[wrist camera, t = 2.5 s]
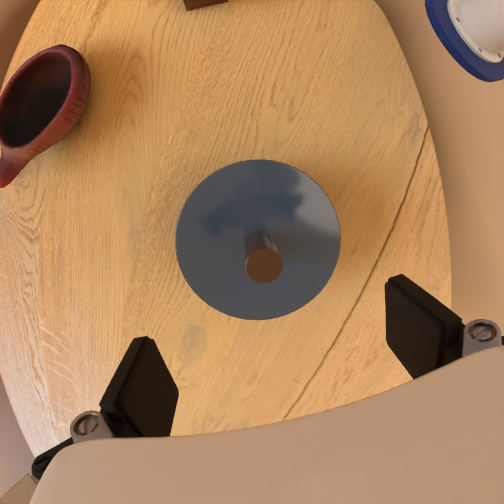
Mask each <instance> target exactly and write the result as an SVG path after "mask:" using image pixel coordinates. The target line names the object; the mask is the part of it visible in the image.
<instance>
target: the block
mask: <svg viewBox="0 0 504 504" xmlns="http://www.w3.org/2000/svg"><path fill="white" fill-rule="evenodd" d="M183 1H184V4H185V7H186V9H187V11H189V10H192V9H196V8H200V7H204V6H209V5H213V4H218V3H222V2H228V0H183Z"/></svg>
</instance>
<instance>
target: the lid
mask: <svg viewBox="0 0 504 504" xmlns="http://www.w3.org/2000/svg"><path fill="white" fill-rule="evenodd" d="M340 239H341V236H340V226H339V221H338V217H337V214H336V211H335V209H334V206H333V204H332V202H331V201H330V199H329V197H328V196H327V194H326V193H325V192H324V190H323V189H322V188H321V187H320V186H319V185H318V184H317V182H316V181H315V180H313V179H312V178H311V177H309V176H308V175H307V174H306V173H304V172H302V171H300V170H299V169H297V168H295V167H292V166H290V165H287V164H285V163H281V162H277V161H272V160H247V161H241V162H237V163H234V164H231V165H228V166H225V167H223V168H221V169H219V170H217V171H216V172H214V173H212V174H211V175H209V176H208V177H207V178H206V179H204V180H203V181H202V182H201V183H200V184H199V185H198V186H197V187H196V188H195V189H194V190H193V192H192V193H191V194H190V196H189V197H188V199H187V200H186V202H185V204H184V206H183V208H182V210H181V213H180V216H179V219H178V222H177V228H176V235H175V247H176V255H177V259H178V263H179V266H180V269H181V271H182V274H183V276H184V278H185V279H186V281H187V283H188V284H189V286H190V287H191V288H192V290H193V291H194V292H195V293H196V294H197V295H198V296H199V297H200V298H201V299H202V300H203V301H204V302H206V303H207V304H208V305H209V306H211V307H213V308H214V309H216V310H218V311H220V312H222V313H224V314H227V315H229V316H233V317H236V318H241V319H246V320H267V319H273V318H278V317H281V316H284V315H287V314H289V313H292V312H294V311H296V310H298V309H300V308H301V307H303V306H305V305H306V304H307V303H308V302H310V301H311V300H312V299H313V298H314V297H315V296H317V295H318V294H319V293H320V291H321V290H322V289H323V288H324V286H325V285H326V284H327V282H328V280H329V279H330V277H331V275H332V273H333V271H334V269H335V266H336V263H337V260H338V257H339V251H340Z"/></svg>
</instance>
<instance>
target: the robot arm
mask: <svg viewBox="0 0 504 504" xmlns="http://www.w3.org/2000/svg"><path fill="white" fill-rule="evenodd" d="M447 8H448V13H449V16H450V18H451V21H452V23H453V25H454V27H455V29H456V30H457V32H458V34H459V35H460V37H461V38H462V39H463V41H464V42H465V43H466V44H467V46H468V47H469V48H470V49H471V50H472V51H473V52H474V53H475V54H476V55H477V56H479V57H480V58H481V59H483V60H484V61H486V62H489V63H497V62H500V61H501V60H502V59H503V56H504V0H448V2H447ZM385 304H386V341H387V344H388V346H389V347H390V349H391V350H392V351H393V353H394V354H395V355H396V357H397V358H398V359H399V361H400V362H401V363H402V365H403V366H404V367H405V369H406V370H407V371H408V373H409V374H410V375H411V377H412V378H413V379H414V380H411V381H409V382H407V383H404V384H402V385H399V386H397V387H394V388H392V389H389V390H387V391H384V392H381V393H379V394H376V395H373V396H370V397H367V398H364V399H361V400H358V401H355V402H352V403H349V404H346V405H343V406H340V407H336V408H333V409H329V410H326V411H322V412H319V413H315V414H311V415H307V416H303V417H299V418H295V419H290V420H286V421H281V422H277V423H272V424H267V425H261V426H256V427H250V428H244V429H238V430H231V431H224V432H216V433H207V434H197V435H185V436H170V433H171V428H172V424H173V419H174V414H175V410H176V405H177V401H178V396H179V392H178V388H177V386H176V384H175V382H174V380H173V378H172V376H171V374H170V372H169V370H168V368H167V366H166V364H165V362H164V360H163V358H162V356H161V354H160V352H159V350H158V348H157V345H156V343H155V341H154V340H153V339H150V338H149V337H148V336H144V337H138V338H134V339H133V340H132V342H131V344H130V346H129V348H128V350H127V351H126V353H125V355H124V357H123V359H122V361H121V363H120V364H119V366H118V368H117V370H116V372H115V374H114V376H113V378H112V380H111V382H110V383H109V385H108V387H107V389H106V391H105V393H104V395H103V397H102V399H101V401H100V403H99V406H100V407H101V410H100V412H97V411H86V412H84V413H82V414H80V415H79V416H77V417H76V418H75V419H74V420H73V422H72V423H71V426H70V433H71V436H72V437H71V438H69V439H67V440H66V441H64V442H62V443H60V444H59V445H57V446H55V447H53V448H51V449H50V450H48V451H46V452H44V453H42V454H41V455H39V456H37V457H36V459H35V460H34V462H33V464H32V475H30V474H29V473H28V474H27V475H25V476H24V478H22V479H21V480H20V481H19V482H18V483H17V484H16V485H14V486H13V487H12V488H11V489H10V490H9V491H8V492H6V493H5V494H4V495H3V496H2V498H1V499H0V504H504V336H501V331H500V328H499V327H498V325H497V324H495V323H494V322H492V321H489V320H485V319H477V320H473V321H471V322H469V323H468V324H467V325H466V326H465V325H464V324H463V323H462V319H461V318H460V317H459V316H458V315H456V314H455V313H453V312H452V311H451V310H450V309H449V308H447V307H446V306H445V305H443V304H442V303H441V302H440V301H438V300H437V299H436V298H434V297H433V296H432V295H430V294H429V293H428V292H426V291H425V290H424V289H422V288H421V287H420V286H418V285H417V284H415V283H414V282H413V281H411V280H410V279H409V278H407V277H406V276H404V275H403V274H400V275H397V276H394V277H390V278H389V279H388V282H386V283H385Z"/></svg>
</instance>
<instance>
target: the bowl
mask: <svg viewBox="0 0 504 504" xmlns="http://www.w3.org/2000/svg"><path fill="white" fill-rule="evenodd" d="M89 91H90V72H89V68H88V65H87V63H86V61H85V59H84V58H83V57H82V55H81V54H80V53H78V52H77V51H76V50H75V49H73V48H71V47H68V46H66V45H62V44H60V45H56V46H54V47H53V46H52V47H50V48H48V49H45V50H43V51H41V52H39V53H37V54H35V55H34V56H32V57H31V58H30V59H28V60H27V61H26V62H25V63H24V64H23V65H22V66H21V67H20V68H19V69H18V70H17V71H16V73H15V74H14V75H13V76H12V77H11V78H10V80H9V82H8V83H7V85H6V87H5V89H4V91H3V93H2V95H1V97H0V146H1V158H0V188H3V187H5V186H7V185H8V184H10V183H11V182H12V181H13V180H14V178H15V177H16V176H17V175H18V174H19V172H20V171H21V170H22V169H23V168H24V167H25V165H26V164H27V163H28V162H29V161H30V160H31V159H33V158H34V157H35V156H37V155H39V154H40V153H42V152H43V151H45V150H46V149H48V148H50V147H51V146H53V145H54V144H56V143H57V142H58V141H60V140H61V139H62V138H63V137H64V136H65V135H66V134H67V133H69V132H70V131H71V130H72V128H73V127H74V126H75V125H76V123H77V122H78V120H79V119H80V117H81V115H82V113H83V110H84V108H85V105H86V102H87V100H88V96H89Z"/></svg>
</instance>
